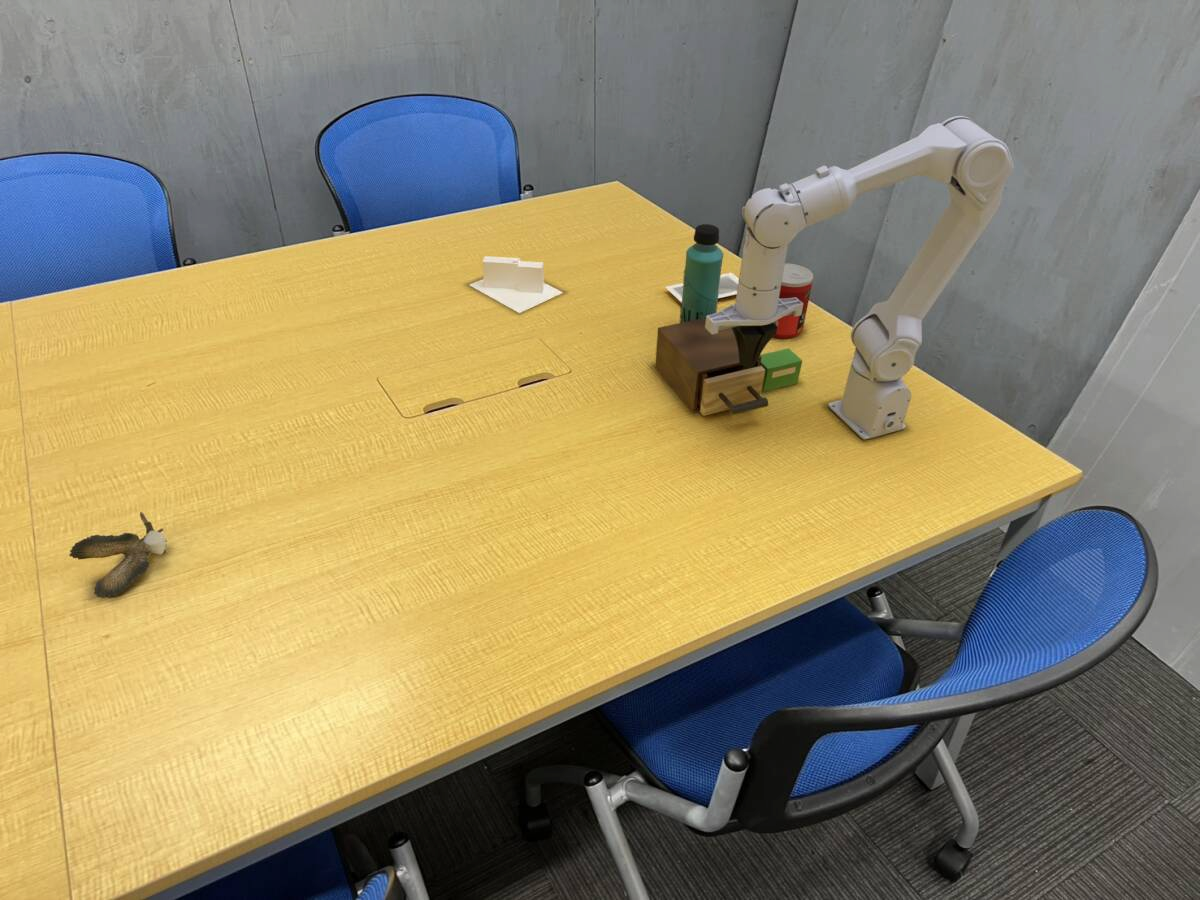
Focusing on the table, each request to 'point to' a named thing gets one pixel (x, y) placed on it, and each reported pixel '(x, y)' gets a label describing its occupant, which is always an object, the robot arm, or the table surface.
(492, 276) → the napkin holder
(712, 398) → the drawer
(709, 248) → the beverage bottle
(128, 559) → the eagle figurine
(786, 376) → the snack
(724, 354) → the cabinet
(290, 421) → the table surface
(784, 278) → the canned food
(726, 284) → the touchpad
